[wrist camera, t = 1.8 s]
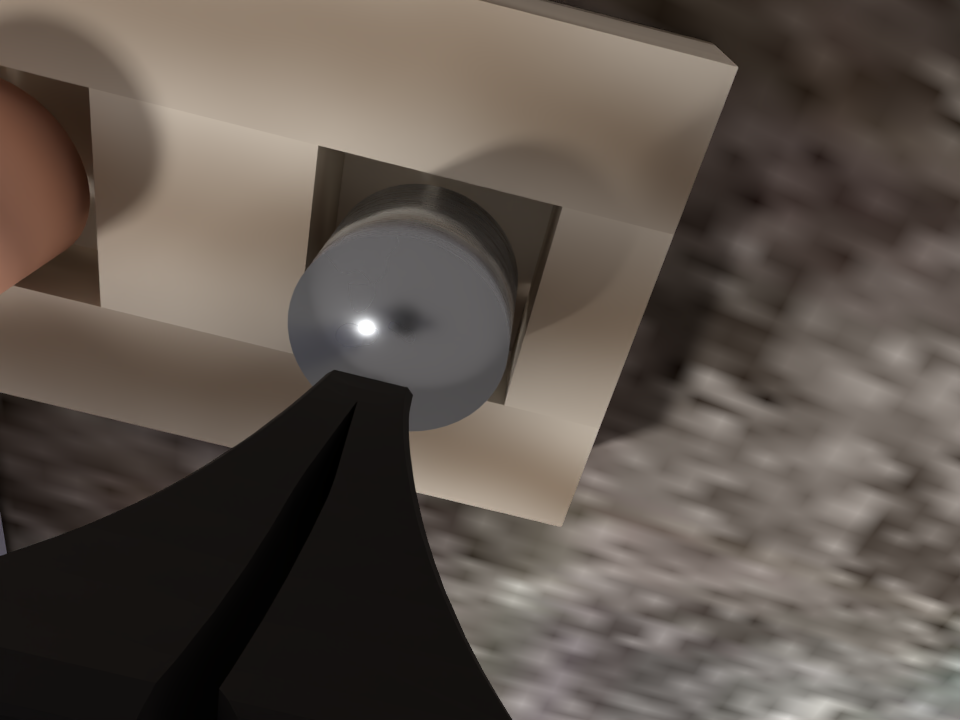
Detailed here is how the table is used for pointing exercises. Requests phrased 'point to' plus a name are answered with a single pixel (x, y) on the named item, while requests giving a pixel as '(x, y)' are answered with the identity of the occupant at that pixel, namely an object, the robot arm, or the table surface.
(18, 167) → the terracotta button
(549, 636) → the table surface
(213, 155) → the button panel
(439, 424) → the grey button
